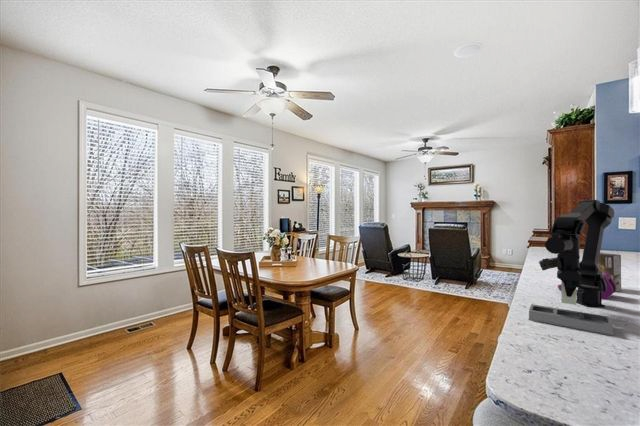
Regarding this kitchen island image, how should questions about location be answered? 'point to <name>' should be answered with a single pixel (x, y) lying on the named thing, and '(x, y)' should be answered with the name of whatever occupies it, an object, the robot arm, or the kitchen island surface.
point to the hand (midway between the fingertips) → (568, 295)
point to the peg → (568, 299)
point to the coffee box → (611, 267)
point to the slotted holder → (571, 319)
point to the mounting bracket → (610, 286)
